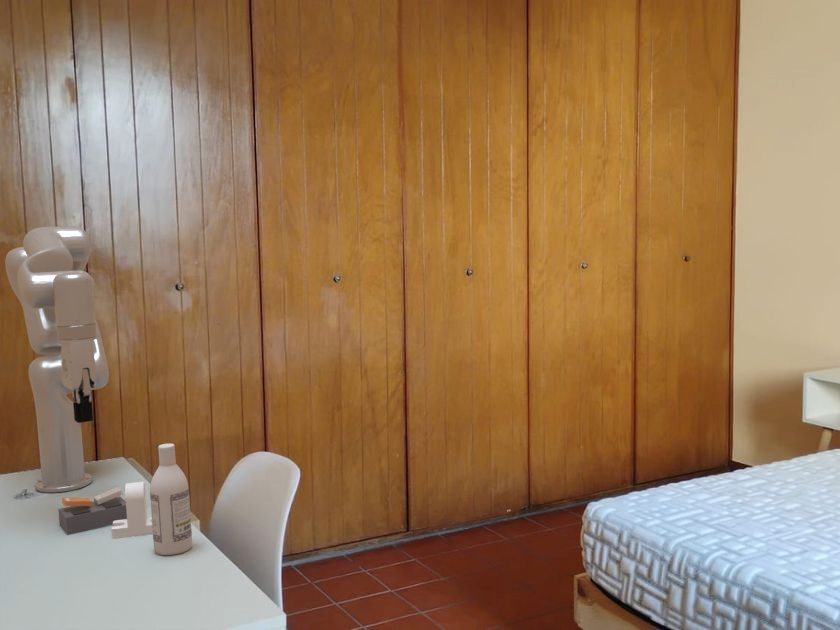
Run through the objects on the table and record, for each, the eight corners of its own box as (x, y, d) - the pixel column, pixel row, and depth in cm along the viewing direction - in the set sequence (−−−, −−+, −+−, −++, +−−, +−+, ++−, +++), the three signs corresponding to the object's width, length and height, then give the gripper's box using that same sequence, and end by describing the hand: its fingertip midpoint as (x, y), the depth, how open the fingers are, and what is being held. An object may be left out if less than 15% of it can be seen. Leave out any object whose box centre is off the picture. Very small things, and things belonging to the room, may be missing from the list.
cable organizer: (114, 530, 170) (110, 482, 169) (165, 523, 172) (162, 476, 171) (112, 539, 165) (108, 489, 163) (164, 532, 167) (161, 483, 166)
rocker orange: (61, 502, 172) (62, 497, 172) (88, 502, 175) (88, 497, 175) (64, 506, 170) (65, 501, 170) (91, 506, 173) (92, 500, 173)
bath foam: (196, 541, 161) (190, 439, 159) (186, 555, 155) (179, 449, 152) (161, 542, 162) (153, 441, 159) (149, 557, 155) (141, 450, 153)
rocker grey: (94, 501, 176) (93, 496, 176) (119, 491, 179) (117, 486, 178) (98, 504, 174) (96, 499, 173) (122, 494, 176) (121, 489, 176)
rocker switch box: (57, 522, 175) (55, 504, 175) (117, 509, 182) (116, 492, 182) (67, 534, 168) (65, 516, 167) (130, 520, 175) (129, 503, 174)
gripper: (49, 331, 176) (56, 417, 178) (66, 338, 164) (73, 430, 166) (86, 328, 181) (93, 412, 182) (105, 334, 168) (112, 424, 170)
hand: (83, 420), depth 174 cm, fingers closed
